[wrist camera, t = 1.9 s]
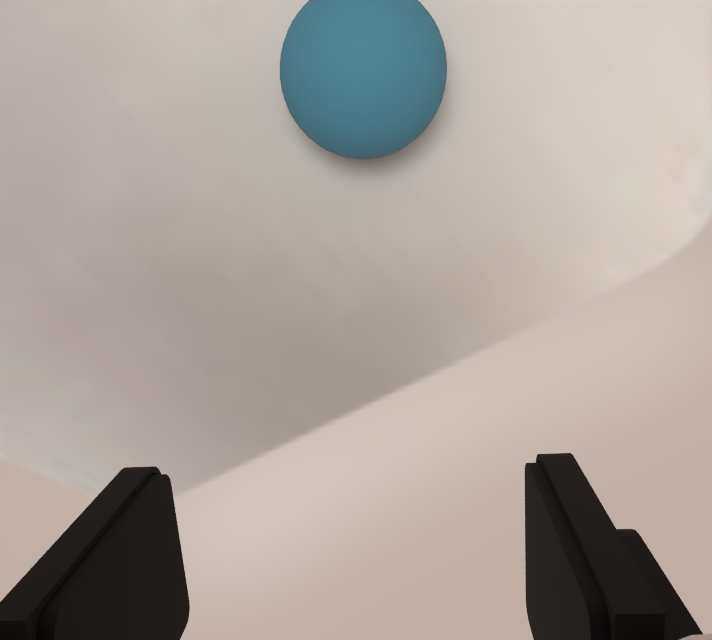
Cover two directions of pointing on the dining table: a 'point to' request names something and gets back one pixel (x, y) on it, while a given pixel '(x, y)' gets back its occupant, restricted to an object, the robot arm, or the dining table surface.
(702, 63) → the dining table surface
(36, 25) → the dining table surface
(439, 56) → the ball
